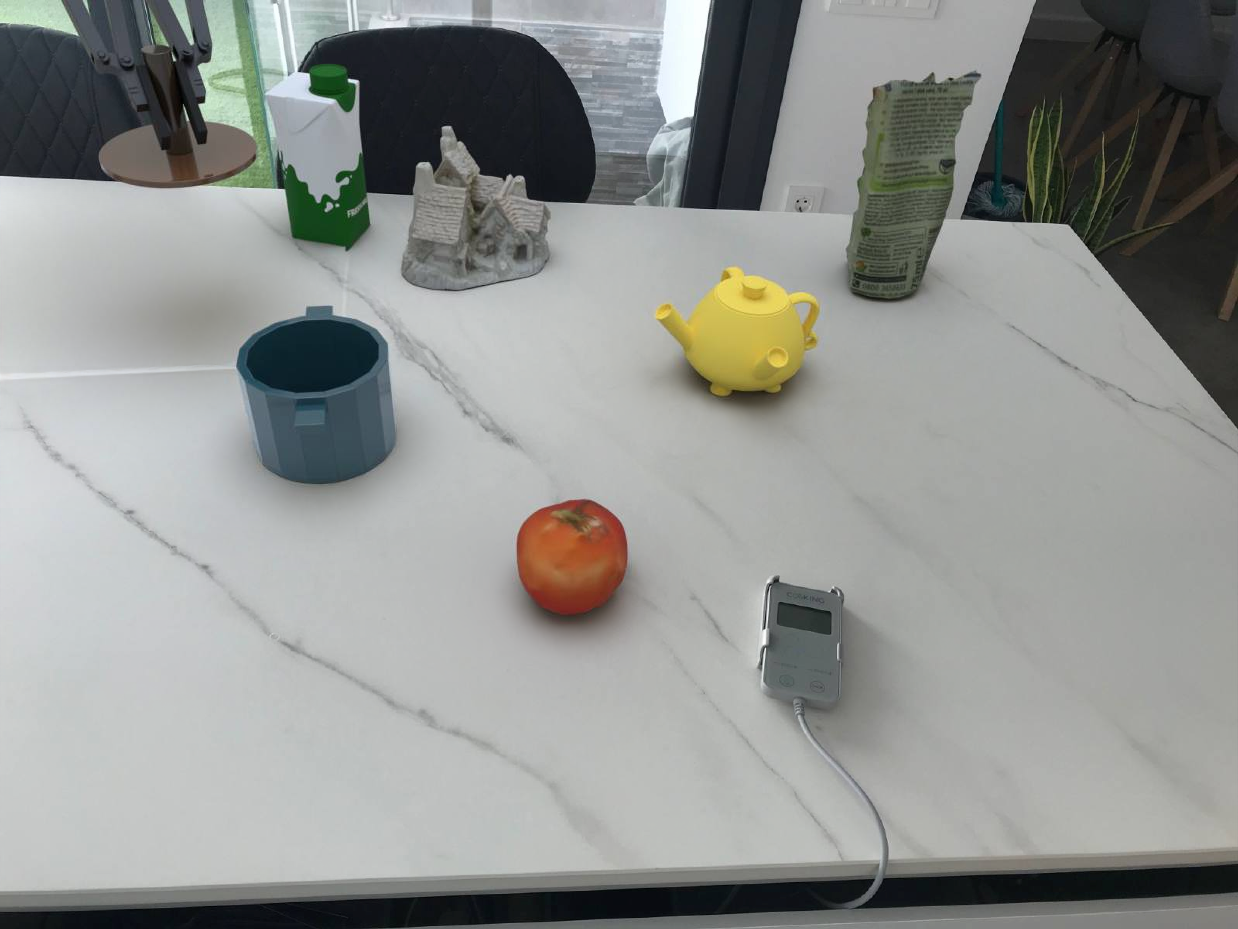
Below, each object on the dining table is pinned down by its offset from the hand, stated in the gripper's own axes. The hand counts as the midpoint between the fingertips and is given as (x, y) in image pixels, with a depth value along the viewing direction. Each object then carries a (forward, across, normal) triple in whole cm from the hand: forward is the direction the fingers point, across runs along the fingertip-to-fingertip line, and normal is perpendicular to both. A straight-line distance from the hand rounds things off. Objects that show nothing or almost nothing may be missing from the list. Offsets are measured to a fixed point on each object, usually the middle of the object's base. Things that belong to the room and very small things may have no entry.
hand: (184, 140), depth 86 cm
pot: (+29, -4, -3) cm, 29 cm away
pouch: (+29, -73, -3) cm, 79 cm away
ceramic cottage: (+12, -30, -20) cm, 38 cm away
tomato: (+48, -14, +16) cm, 52 cm away
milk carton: (+2, -18, -30) cm, 34 cm away
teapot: (+35, -44, +4) cm, 57 cm away
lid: (-1, 0, -5) cm, 5 cm away
